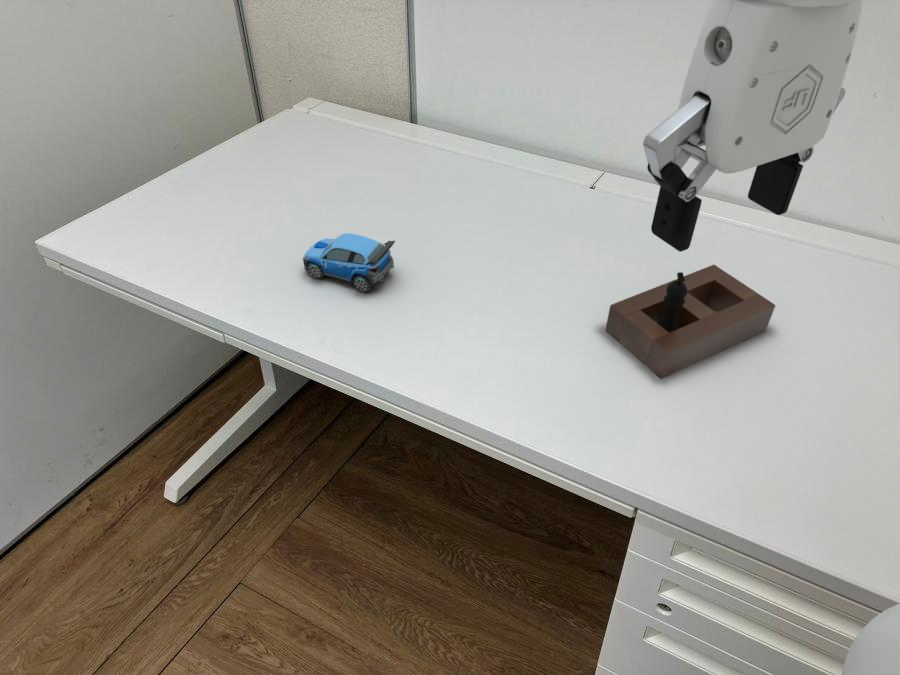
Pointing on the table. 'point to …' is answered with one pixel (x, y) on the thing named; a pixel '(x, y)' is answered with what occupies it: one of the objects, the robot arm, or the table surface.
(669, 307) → the chess piece
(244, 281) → the table surface
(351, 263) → the toy car
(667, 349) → the socket base
